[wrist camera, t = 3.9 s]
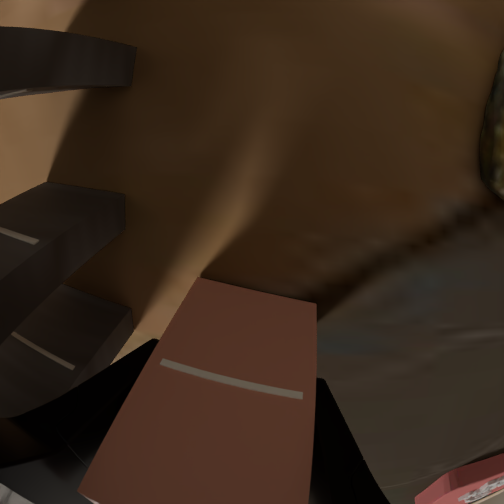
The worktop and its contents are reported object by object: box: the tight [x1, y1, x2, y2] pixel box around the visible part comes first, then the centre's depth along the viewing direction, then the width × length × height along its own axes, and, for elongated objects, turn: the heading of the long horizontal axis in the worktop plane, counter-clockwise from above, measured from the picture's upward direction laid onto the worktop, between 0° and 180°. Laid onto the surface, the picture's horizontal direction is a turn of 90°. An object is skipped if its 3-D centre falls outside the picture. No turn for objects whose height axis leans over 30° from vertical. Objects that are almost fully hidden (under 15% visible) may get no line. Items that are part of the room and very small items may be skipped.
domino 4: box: [77, 277, 317, 504], centre depth 8 cm, size 2×5×10 cm, turn 81°
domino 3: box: [0, 284, 134, 417], centre depth 10 cm, size 2×5×10 cm, turn 81°
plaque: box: [415, 453, 504, 504], centre depth 20 cm, size 18×4×15 cm
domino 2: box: [0, 182, 125, 345], centre depth 8 cm, size 2×5×10 cm, turn 81°
